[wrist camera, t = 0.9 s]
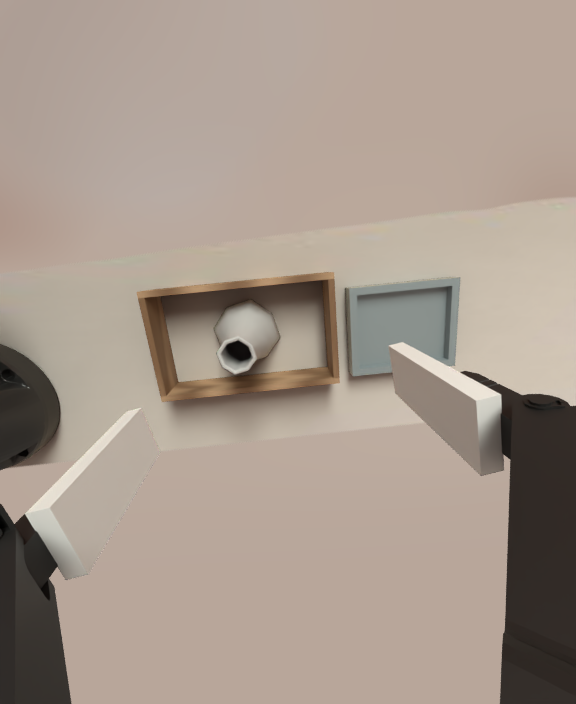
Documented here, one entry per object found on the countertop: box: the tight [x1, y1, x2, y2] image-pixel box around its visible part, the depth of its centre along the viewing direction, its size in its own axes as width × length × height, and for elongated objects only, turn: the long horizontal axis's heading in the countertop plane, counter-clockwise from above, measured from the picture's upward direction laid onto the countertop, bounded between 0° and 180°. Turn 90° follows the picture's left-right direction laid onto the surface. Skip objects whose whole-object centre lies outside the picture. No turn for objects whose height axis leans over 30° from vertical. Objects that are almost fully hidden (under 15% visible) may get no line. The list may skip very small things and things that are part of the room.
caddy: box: [137, 272, 340, 402], centre depth 32 cm, size 19×12×4 cm, turn 95°
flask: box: [214, 299, 280, 375], centre depth 29 cm, size 7×7×10 cm
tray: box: [345, 277, 460, 376], centre depth 34 cm, size 12×10×2 cm
